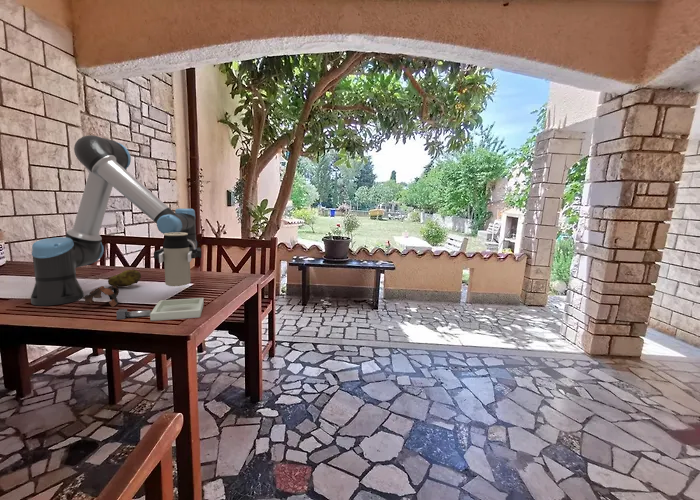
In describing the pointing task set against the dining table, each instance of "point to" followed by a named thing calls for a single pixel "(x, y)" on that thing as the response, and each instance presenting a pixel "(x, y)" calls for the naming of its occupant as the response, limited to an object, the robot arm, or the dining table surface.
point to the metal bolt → (131, 313)
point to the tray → (177, 309)
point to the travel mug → (176, 259)
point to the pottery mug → (97, 294)
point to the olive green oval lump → (125, 278)
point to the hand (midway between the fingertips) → (174, 258)
